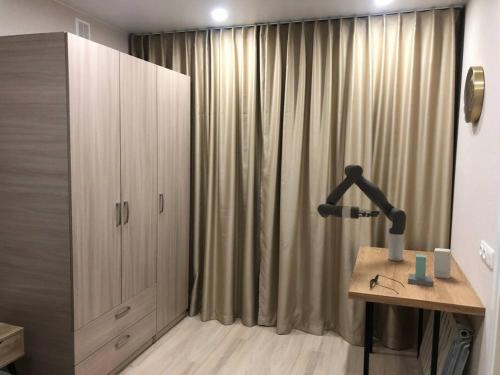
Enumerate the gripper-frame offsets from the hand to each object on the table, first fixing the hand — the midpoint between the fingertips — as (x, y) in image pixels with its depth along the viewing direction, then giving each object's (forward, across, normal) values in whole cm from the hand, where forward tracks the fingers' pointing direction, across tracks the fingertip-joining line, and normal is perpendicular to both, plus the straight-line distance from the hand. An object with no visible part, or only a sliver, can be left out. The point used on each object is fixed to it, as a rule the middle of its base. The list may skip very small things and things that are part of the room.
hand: (378, 214), depth 239 cm
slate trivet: (+24, -13, +34) cm, 44 cm away
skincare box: (+35, +2, +34) cm, 49 cm away
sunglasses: (+9, -30, +35) cm, 47 cm away
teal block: (+24, -13, +32) cm, 42 cm away
